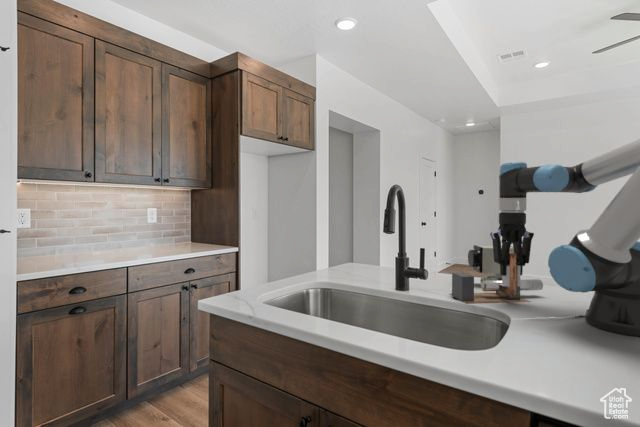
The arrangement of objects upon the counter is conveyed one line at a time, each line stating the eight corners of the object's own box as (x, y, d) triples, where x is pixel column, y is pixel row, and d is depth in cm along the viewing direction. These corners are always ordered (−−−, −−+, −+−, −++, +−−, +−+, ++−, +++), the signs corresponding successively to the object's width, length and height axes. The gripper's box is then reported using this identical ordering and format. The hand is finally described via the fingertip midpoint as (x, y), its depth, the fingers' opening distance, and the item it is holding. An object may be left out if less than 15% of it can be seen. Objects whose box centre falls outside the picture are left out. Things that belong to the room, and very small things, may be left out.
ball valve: (513, 285, 137) (513, 241, 137) (523, 291, 129) (524, 243, 128) (466, 284, 139) (466, 240, 138) (473, 289, 131) (474, 242, 130)
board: (530, 304, 112) (531, 301, 112) (465, 306, 110) (465, 303, 110) (507, 294, 124) (507, 292, 124) (448, 295, 122) (448, 293, 122)
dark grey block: (473, 301, 113) (474, 276, 112) (462, 301, 112) (462, 276, 112) (463, 295, 120) (463, 272, 119) (451, 295, 119) (452, 272, 119)
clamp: (520, 299, 114) (520, 278, 114) (508, 300, 114) (508, 278, 114) (506, 294, 121) (507, 273, 121) (495, 294, 121) (496, 274, 121)
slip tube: (535, 288, 120) (536, 249, 120) (558, 296, 110) (559, 253, 110) (480, 289, 118) (481, 249, 118) (498, 298, 108) (499, 254, 108)
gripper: (527, 211, 114) (526, 282, 114) (481, 211, 112) (480, 283, 113) (544, 212, 106) (543, 287, 107) (495, 212, 105) (494, 289, 106)
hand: (511, 285), depth 110 cm, fingers closed on slip tube, 3 cm apart
